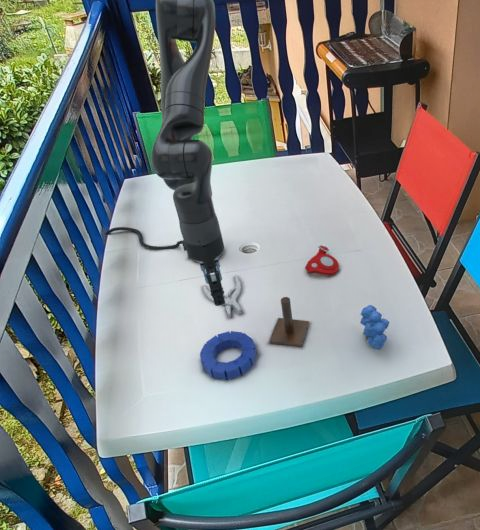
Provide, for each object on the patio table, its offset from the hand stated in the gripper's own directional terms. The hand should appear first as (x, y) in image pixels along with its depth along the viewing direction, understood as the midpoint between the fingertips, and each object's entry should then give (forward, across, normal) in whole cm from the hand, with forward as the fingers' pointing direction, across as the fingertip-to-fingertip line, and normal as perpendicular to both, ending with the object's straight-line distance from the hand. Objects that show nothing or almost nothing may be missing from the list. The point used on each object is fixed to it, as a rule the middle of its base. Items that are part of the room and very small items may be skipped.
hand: (216, 292), depth 111 cm
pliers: (+17, -16, +2) cm, 23 cm away
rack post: (+17, +3, +14) cm, 22 cm away
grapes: (+17, +14, +33) cm, 40 cm away
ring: (+17, +5, -1) cm, 17 cm away
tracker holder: (+17, -20, +31) cm, 41 cm away
